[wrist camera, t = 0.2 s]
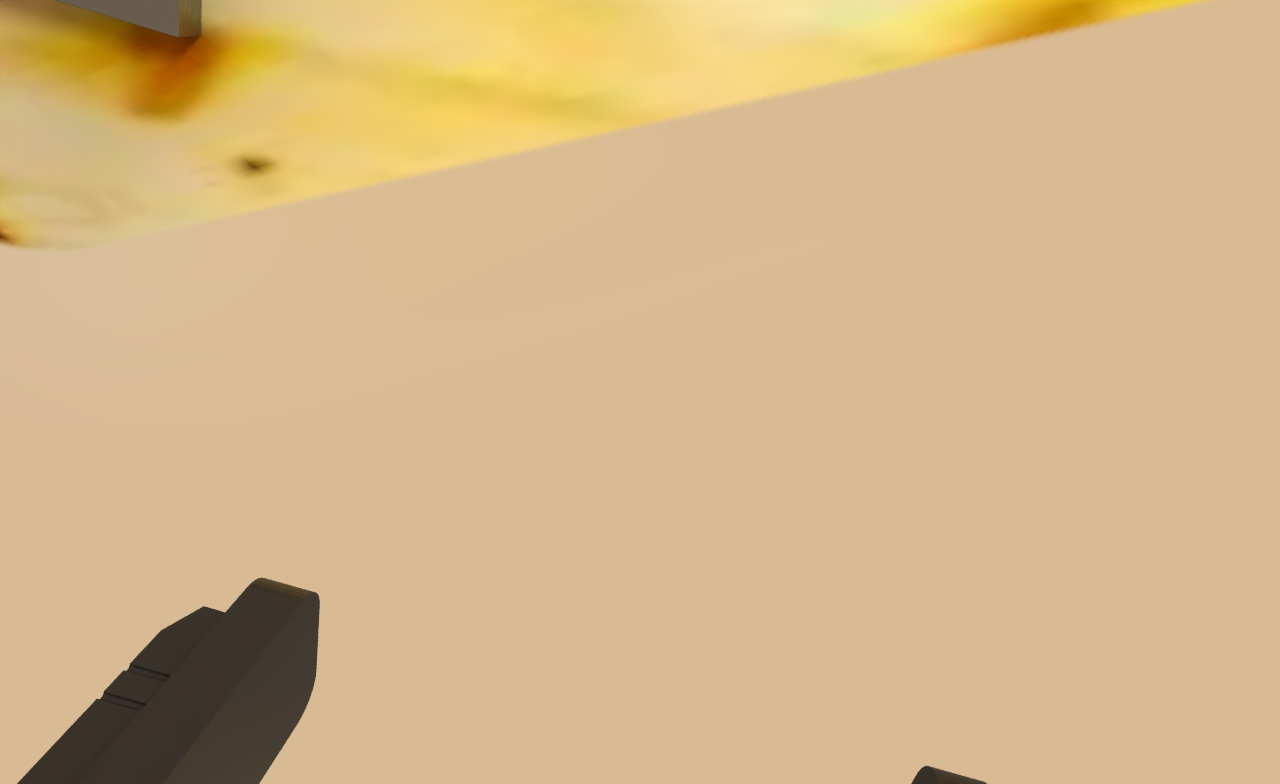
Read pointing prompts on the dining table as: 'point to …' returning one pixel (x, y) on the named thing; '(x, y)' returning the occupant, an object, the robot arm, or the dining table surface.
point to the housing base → (151, 13)
